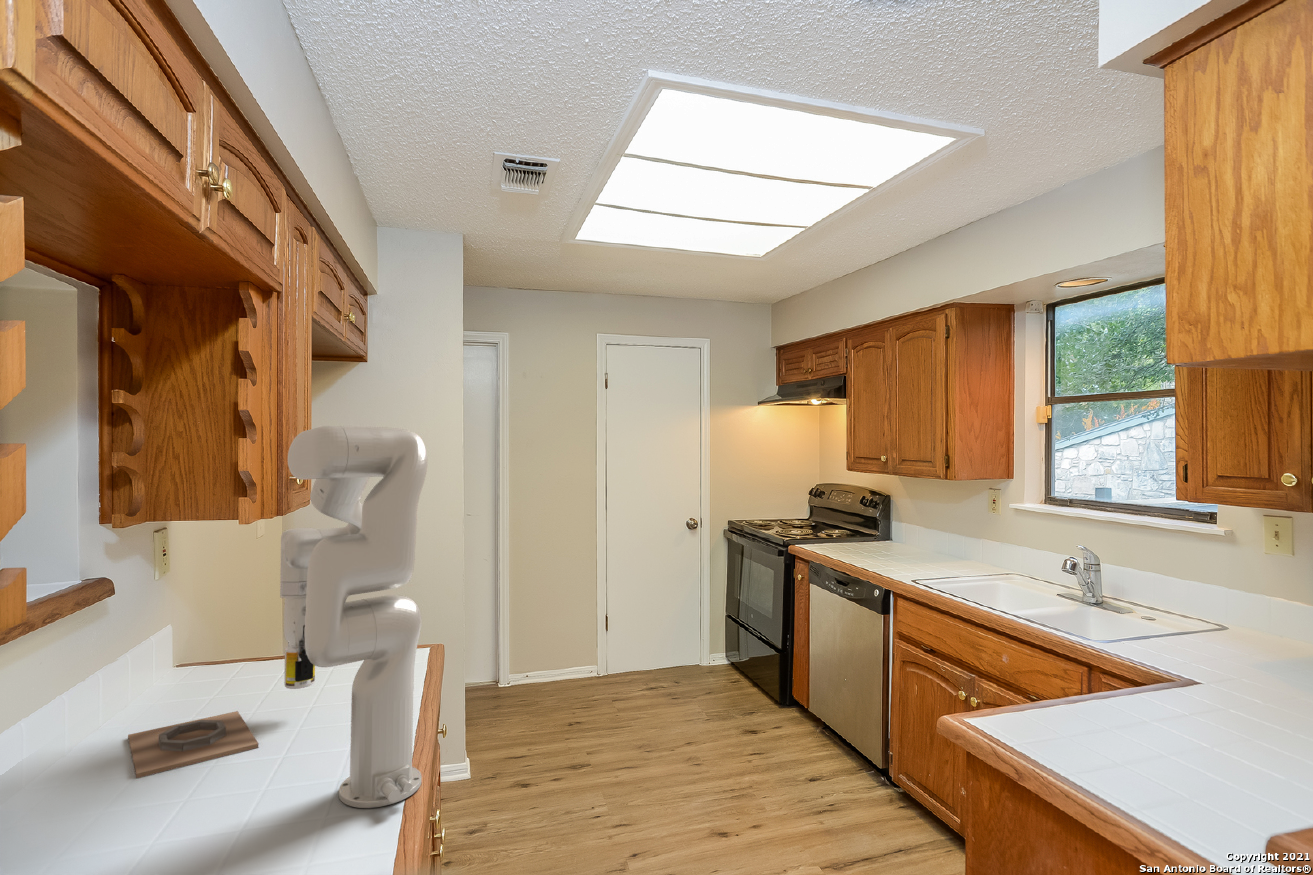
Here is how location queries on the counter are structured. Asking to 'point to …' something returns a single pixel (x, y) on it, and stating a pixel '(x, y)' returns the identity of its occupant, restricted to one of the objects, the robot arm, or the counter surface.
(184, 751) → the ring board
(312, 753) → the counter surface
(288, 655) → the supplement bottle
